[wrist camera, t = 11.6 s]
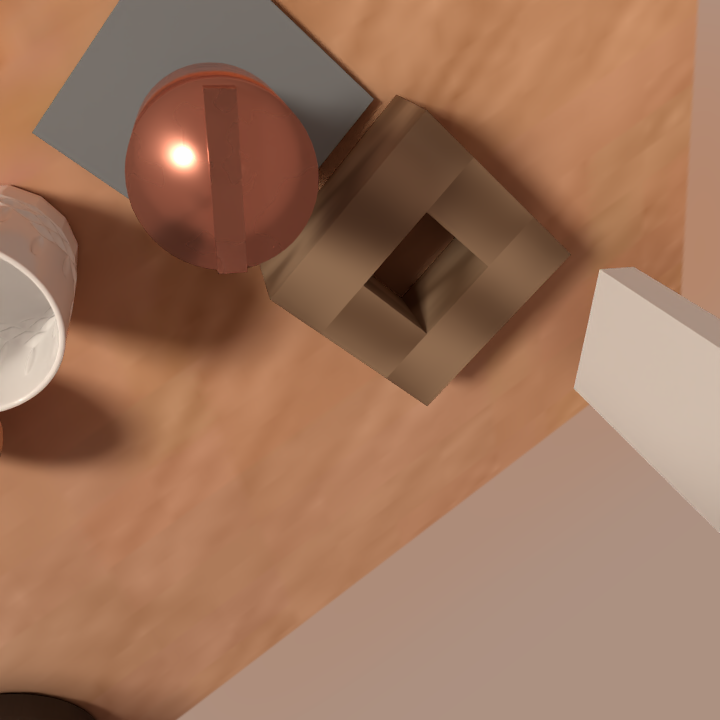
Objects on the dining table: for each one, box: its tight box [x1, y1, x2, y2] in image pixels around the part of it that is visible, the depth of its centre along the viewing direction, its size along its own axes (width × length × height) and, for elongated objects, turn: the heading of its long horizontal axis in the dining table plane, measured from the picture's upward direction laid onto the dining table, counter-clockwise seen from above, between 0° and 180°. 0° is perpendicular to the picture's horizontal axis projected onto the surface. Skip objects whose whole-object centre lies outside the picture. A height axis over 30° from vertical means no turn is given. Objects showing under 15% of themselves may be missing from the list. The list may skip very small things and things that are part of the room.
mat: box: [32, 0, 373, 199], centre depth 34 cm, size 12×12×1 cm
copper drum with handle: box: [125, 62, 319, 274], centre depth 28 cm, size 6×6×14 cm
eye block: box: [260, 95, 571, 406], centre depth 38 cm, size 12×12×5 cm
